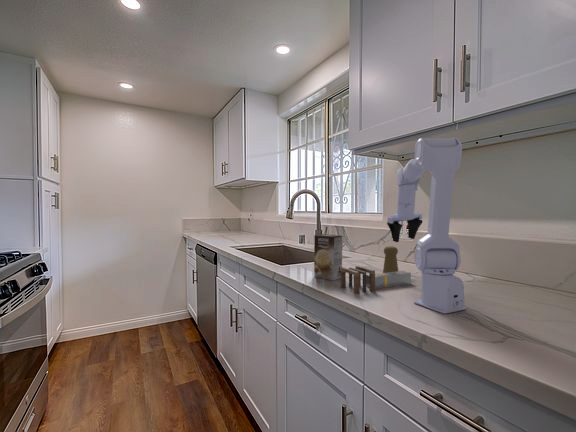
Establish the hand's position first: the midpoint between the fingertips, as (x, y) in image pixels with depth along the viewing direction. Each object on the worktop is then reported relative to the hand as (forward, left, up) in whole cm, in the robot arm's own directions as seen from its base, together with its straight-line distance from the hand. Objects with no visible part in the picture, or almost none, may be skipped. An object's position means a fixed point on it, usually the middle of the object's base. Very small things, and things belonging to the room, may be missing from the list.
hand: (403, 239), depth 106 cm
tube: (-4, +10, -15) cm, 18 cm away
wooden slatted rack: (-4, +23, -14) cm, 28 cm away
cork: (+8, -2, -15) cm, 17 cm away
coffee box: (+14, +23, -15) cm, 31 cm away
